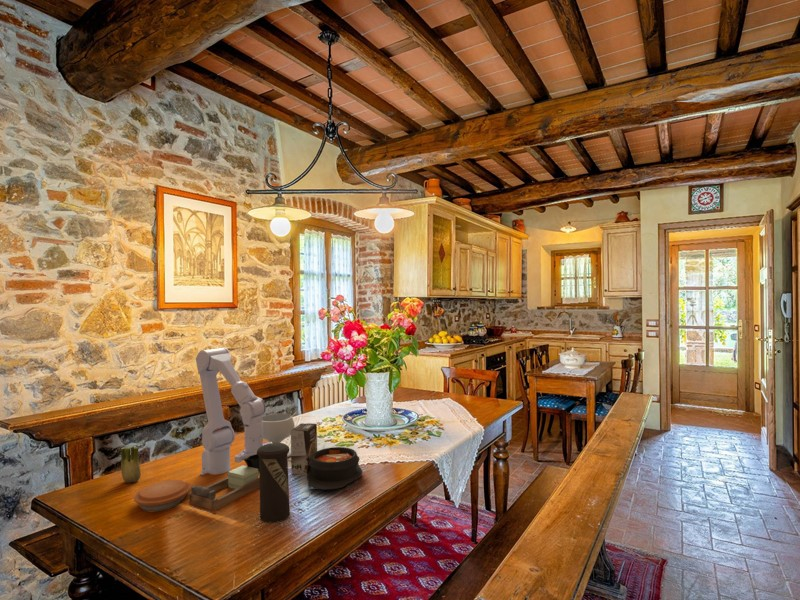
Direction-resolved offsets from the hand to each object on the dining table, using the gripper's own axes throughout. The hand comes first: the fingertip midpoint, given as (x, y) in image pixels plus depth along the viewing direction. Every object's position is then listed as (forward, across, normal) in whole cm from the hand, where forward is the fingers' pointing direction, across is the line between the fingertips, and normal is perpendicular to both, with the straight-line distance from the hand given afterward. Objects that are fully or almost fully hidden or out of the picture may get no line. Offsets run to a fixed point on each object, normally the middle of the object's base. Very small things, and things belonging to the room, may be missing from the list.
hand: (254, 476), depth 148 cm
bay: (+2, -8, 0) cm, 9 cm away
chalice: (+2, +23, +12) cm, 26 cm away
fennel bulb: (+2, -17, +40) cm, 44 cm away
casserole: (+2, +14, -22) cm, 27 cm away
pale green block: (+1, -5, 0) cm, 5 cm away
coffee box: (+2, +15, -9) cm, 17 cm away
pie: (+3, -22, +15) cm, 27 cm away
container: (+2, -14, -22) cm, 26 cm away
